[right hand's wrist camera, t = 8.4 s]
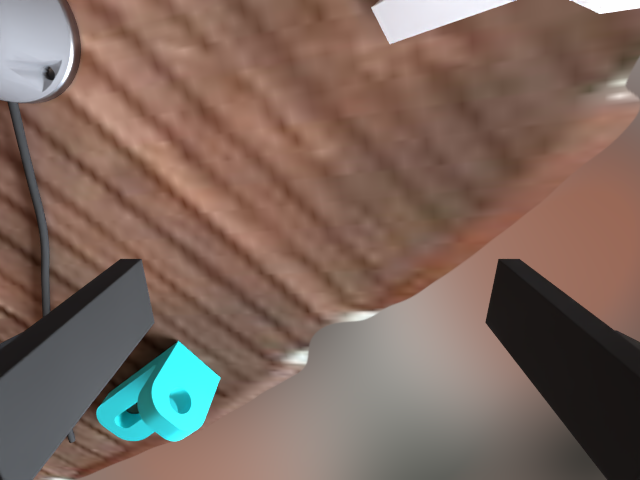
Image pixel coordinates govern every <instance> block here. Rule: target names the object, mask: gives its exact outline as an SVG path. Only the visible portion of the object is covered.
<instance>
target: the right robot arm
mask: <svg viewBox="0 0 640 480" xmlns="http://www.w3.org/2000/svg"><path fill="white" fill-rule="evenodd" d="M80 53H81V45H80V36H79V31H78V27H77V23H76V20H75V17H74V15H73V12H72V10H71V8H70V6H69V4H68V2H67V0H0V100H3V101H7V102H8V106H9V110H10V114H11V118H12V122H13V127H14V131H15V135H16V139H17V143H18V147H19V151H20V155H21V159H22V163H23V167H24V171H25V175H26V179H27V183H28V187H29V190H30V194H31V198H32V201H33V205H34V209H35V213H36V217H37V222H38V228H39V234H40V243H41V286H42V310H43V318H42V319H40V320H39V321H38V322H36V323H35V324H34V325H32V326H31V327H30V328H28V329H27V330H26V331H24V332H22V333H20V334H18V335H16V336H14V337H12V338H10V339H8V340H7V341H5V342H3V343H1V344H0V480H33V479H34V477H35V476H36V475H37V473H38V472H39V471H40V470H41V468H42V467H43V466H44V464H45V463H46V462H47V461H48V459H49V458H50V457H51V455H52V454H53V453H54V452H55V450H56V449H57V448H58V446H59V445H60V444H61V443H62V441H63V440H64V439H65V437H66V436H68V440H69V442H70V443H72V442H74V441H75V436H74V433H73V429H72V428H73V427H74V426H75V424H76V423H77V422H78V421H79V419H80V418H81V417H82V415H83V414H84V413H85V412H86V410H87V409H88V408H89V406H90V405H91V404H92V403H93V401H94V400H95V399H96V397H97V396H98V395H99V394H100V392H101V391H102V390H103V388H104V387H105V386H106V384H107V383H108V382H109V381H110V379H111V378H112V377H113V375H114V374H115V373H116V372H117V370H118V369H119V368H120V366H121V365H122V364H123V363H124V361H125V360H126V359H127V357H128V356H129V355H130V354H131V352H132V351H133V350H134V348H135V347H136V346H137V344H138V343H139V342H140V341H141V339H142V338H143V337H144V335H145V334H146V333H147V332H148V330H149V329H150V328H151V326H152V325H153V324H154V318H153V313H152V308H151V303H150V298H149V293H148V289H147V284H146V279H145V274H144V269H143V264H142V259H120V260H119V261H117V262H116V263H115V264H113V265H112V266H111V267H109V268H108V269H107V270H105V271H104V272H103V273H101V274H100V275H99V276H97V277H96V278H95V279H93V280H92V281H91V282H89V283H88V284H87V285H85V286H84V287H83V288H81V289H80V290H79V291H77V292H76V293H75V294H73V295H72V296H71V297H69V298H68V299H67V300H65V301H64V302H63V303H61V304H60V305H59V306H58V307H56V308H55V309H54V310H52V311H51V312H50V291H49V240H48V231H47V225H46V219H45V214H44V210H43V206H42V202H41V198H40V194H39V191H38V187H37V183H36V179H35V174H34V170H33V166H32V162H31V158H30V154H29V149H28V145H27V141H26V137H25V132H24V128H23V124H22V119H21V115H20V110H19V106H18V103H40V102H45V101H48V100H51V99H53V98H56V97H57V96H59V95H60V94H62V93H63V92H64V91H65V90H66V89H67V88H68V87H69V85H70V84H71V83H72V81H73V79H74V77H75V75H76V73H77V70H78V67H79V62H80ZM486 324H487V325H488V326H489V328H490V329H491V330H492V332H493V333H494V334H495V335H496V337H497V338H498V339H499V341H500V342H501V343H502V344H503V346H504V347H505V348H506V350H507V351H508V352H509V353H510V355H511V356H512V357H513V359H514V360H515V361H516V363H517V364H518V365H519V366H520V368H521V369H522V370H523V372H524V373H525V374H526V375H527V377H528V378H529V379H530V381H531V382H532V383H533V384H534V386H535V387H536V388H537V390H538V391H539V392H540V393H541V395H542V396H543V397H544V399H545V400H546V401H547V403H548V404H549V405H550V406H551V408H552V409H553V410H554V411H555V413H556V414H557V415H558V417H559V418H560V419H561V421H562V422H563V423H564V424H565V426H566V427H567V428H568V430H569V431H570V432H571V434H572V435H573V436H574V437H575V439H576V440H577V441H578V443H579V444H580V445H581V446H582V448H583V449H584V450H585V452H586V453H587V454H588V455H589V457H590V458H591V459H592V461H593V462H594V463H595V464H596V466H597V467H598V468H599V470H600V471H601V472H602V473H603V475H604V476H605V477H606V479H607V480H640V342H638V341H636V340H634V339H632V338H630V337H629V336H627V335H625V334H622V333H620V332H619V331H614V330H613V329H612V328H610V327H609V326H608V325H606V324H605V323H604V322H602V321H601V320H600V319H598V318H597V317H596V316H594V315H593V314H592V313H590V312H589V311H588V310H586V309H585V308H584V307H582V306H581V305H580V304H579V303H577V302H576V301H575V300H573V299H572V298H571V297H569V296H568V295H567V294H565V293H564V292H563V291H561V290H560V289H559V288H557V287H556V286H555V285H553V284H552V283H551V282H549V281H548V280H547V279H545V278H544V277H543V276H541V275H540V274H539V273H537V272H536V271H535V270H533V269H532V268H531V267H529V266H528V265H527V264H525V263H524V262H523V261H521V260H520V259H498V264H497V269H496V274H495V279H494V284H493V289H492V293H491V298H490V303H489V308H488V313H487V318H486Z"/></svg>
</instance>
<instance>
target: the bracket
mask: <svg viewBox="0 0 640 480" xmlns="http://www.w3.org/2000/svg"><path fill="white" fill-rule="evenodd" d="M219 380H220V377H219V376H218V375H217V374H215V373H214V372H213V371H212V370H211V369H210V368H209V367H207V366H206V365H205V364H204V363H203V362H202V361H201V360H199V359H198V358H197V357H196V356H195V355H194V354H193V353H192V352H190V351H189V350H188V349H187V348H186V347H185V346H184V345H182V344H181V343H180V342H179V341H178V342H177V343H175V344H174V345H173V346H171V347H170V348H169V349H167V350H166V351H165V352H163V353H162V354H160V355H159V356H158V357H156V358H155V359H154V360H152V361H151V362H150V363H148V364H147V365H146V366H144V367H143V368H142V369H140V370H139V371H138V372H136V373H135V374H134V375H132V376H131V377H130V378H128V379H127V380H125V381H124V382H123V383H121V384H120V385H119V386H117V387H116V388H115V389H113V390H112V391H111V392H110V393H109V394H108V395H107V397H106V398H105V399H104V401H103V402H102V403H101V405H100V406H99V407H98V409H97V412H96V415H97V419H98V421H99V422H100V423H101V425H103V426H104V427H105V428H106V429H108V430H109V431H111V432H112V433H113V434H115V435H116V436H118V437H119V438H122V439H124V440H128V441H139V440H142V439H145V438H146V437H148V436H149V435H151V434H152V433H154V432H156V433H158V434H159V435H160V436H162V437H163V438H165V439H166V440H169V441H179V440H182V439H183V438H185V437H186V436H188V435H190V434H191V433H193V432H194V431H196V430H197V429H199V428H200V427H201V426H202V424H203V423H204V420H205V418H206V415H207V412H208V410H209V407H210V404H211V402H212V399H213V396H214V394H215V391H216V388H217V385H218V383H219ZM136 402H137V405H138V411H139V413H138V414H131V413H129V412H127V411H126V410H127V409H128V408H129V407H131V406H132V405H134V404H135V403H136Z"/></svg>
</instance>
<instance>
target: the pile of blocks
mask: <svg viewBox="0 0 640 480" xmlns="http://www.w3.org/2000/svg"><path fill="white" fill-rule="evenodd" d="M512 1H515V0H379V1H378V2H377V3H376V4H375V5H374V6H372V7H371V8H372V10H373V12H374V14H375V16H376V18H377V20H378V22H379V24H380V26H381V28H382V30H383V32H384V34H385V36H386V38H387V40H388V42H389V44H392V43H394V42H397V41H400V40H403V39H406V38H409V37H412V36H415V35H417V34H420V33H423V32H426V31H429V30H432V29H435V28H438V27H440V26H443V25H446V24H449V23H452V22H455V21H458V20H461V19H463V18H466V17H469V16H472V15H475V14H478V13H481V12H484V11H487V10H489V9H492V8H495V7H498V6H501V5H504V4H507V3H510V2H512ZM571 1H573V2H575V3H577V4H580V5H582V6H584V7H586V8H588V9H590V10H593V11H595V12H597V13H599V14H601V13H608V12H615V11H622V10H629V9H636V8H640V0H571Z"/></svg>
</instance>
